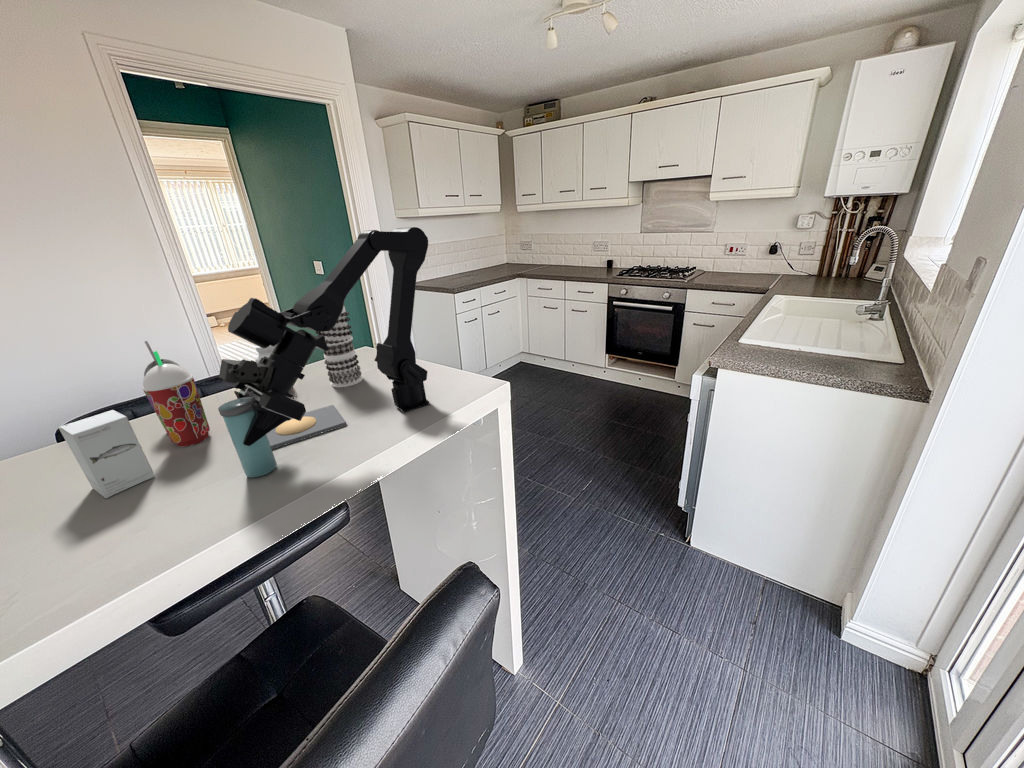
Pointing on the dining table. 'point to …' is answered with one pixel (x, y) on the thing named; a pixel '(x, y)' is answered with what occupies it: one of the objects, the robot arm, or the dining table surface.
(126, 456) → the supplement box
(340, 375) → the decorative candle
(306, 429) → the mat
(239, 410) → the teal capped cylinder
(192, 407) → the smoothie
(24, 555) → the dining table surface
